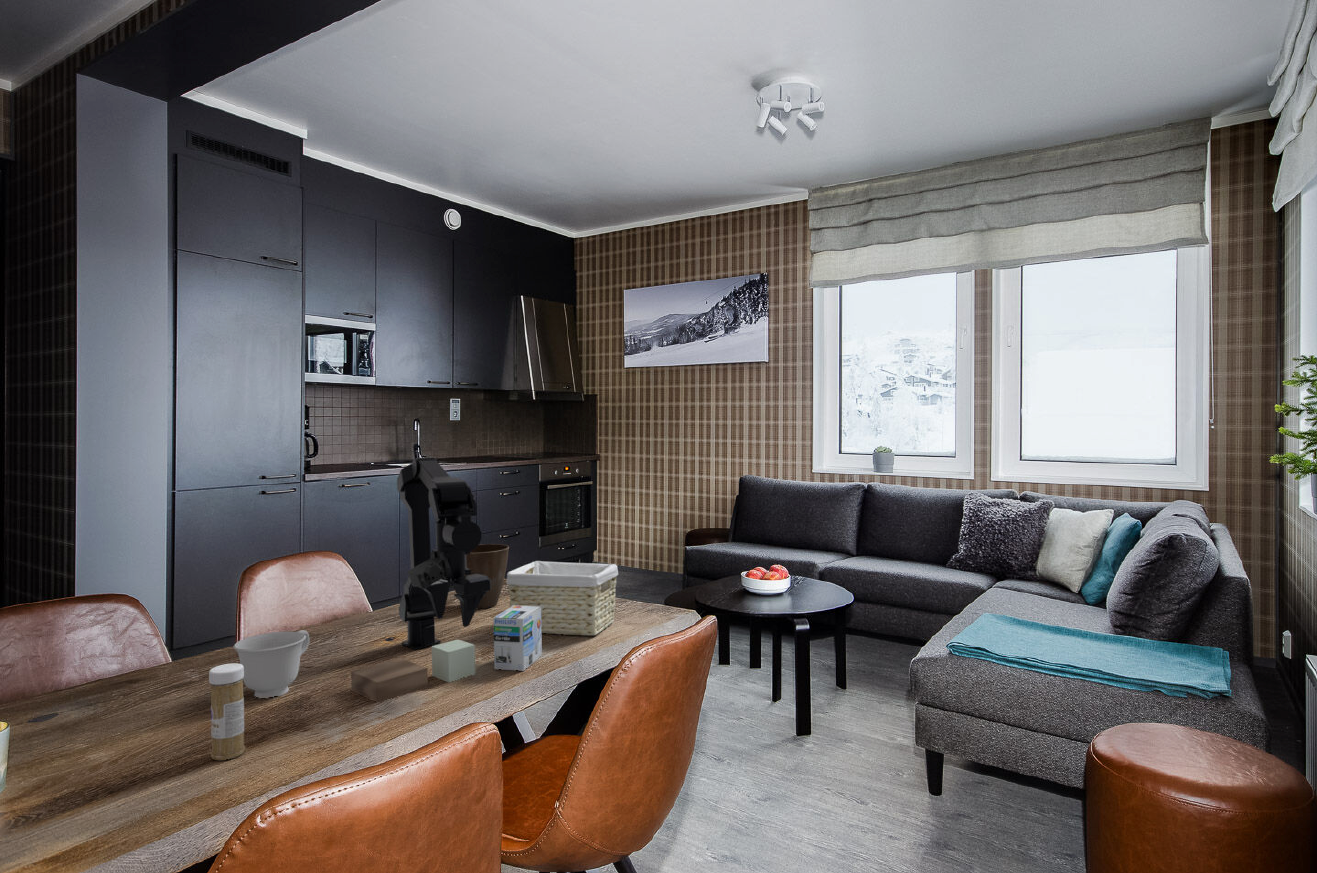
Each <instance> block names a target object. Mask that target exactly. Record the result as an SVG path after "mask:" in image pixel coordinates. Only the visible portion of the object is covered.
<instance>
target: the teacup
mask: <svg viewBox="0 0 1317 873" xmlns="http://www.w3.org/2000/svg"><path fill="white" fill-rule="evenodd" d="M310 642H311V641H310V634H309V632H308V631H307V630H303V629H301V630H298V631H290V630H289V631H276V632H275V631H274V632H267V633H266V632H265V633H260V634H256V635H252V636H249V637H245V638H242V639H241V640H238V641H237V642H236V643H235V644H234V645H232V646H233V649H234V650H235V651H236V652H237V655H238V658H239V664H242V665H243V667H244V677H243V684H244V685H245V686H246V687H247V688H248V689H250V690H252V691H254V697H255V696H256V697H260V698H259V699H261V697H262V698H265V697H266V699H268V698H267V697H273V698H275V697H274V696H278V697H280V696H284V695H285V694H287V693H288V692H289V691H290V690H289V689H290V688H289V685H290V684H292V683H293V682H294V681H295V680H296V679H297V677H298V674H299V670H300V665H301V664H300V663H301V662H300V661H301V656H302V655H303V654H304V653H305V652H306V651H307V650H308V647H309V645H310ZM256 697H255V698H256Z"/></svg>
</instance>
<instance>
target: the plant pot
mask: <svg viewBox="0 0 1317 873" xmlns="http://www.w3.org/2000/svg"><path fill="white" fill-rule="evenodd" d="M509 548H510V546H509V545H507V544H502V543H501V544H500V543H485V544H484V543H483V544H480V543H479V545H478V546H477V547H476V548H475V549H473V550H471V554H466V568H468V569H471V574H469V575H473V574H481V575H485V576H488V577H489V578H490V579H491V590H488V591H487V594H484V596H483V597H482V599H481V601H480V603H479V605H478V607H477V608H484V609H489V607H490V608H493V606H494V607H496V606H497V605H498V602H499V599H500V596H501V594H502V589H503V585H504V582H505V577H506V574H507V573H506V571H507V567H508V566H507V565H508V559H509V550H510V549H509ZM465 576H468V575H465ZM495 605H496V606H495Z"/></svg>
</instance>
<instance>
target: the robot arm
mask: <svg viewBox="0 0 1317 873" xmlns="http://www.w3.org/2000/svg"><path fill="white" fill-rule="evenodd" d="M396 479H397V480H396V488H397V491H398V493H399V497H400V501H402V503H403V505H404V507H405V508H406V509H407V510H408V511H407V512H408V534H409V537H408V539H409V558H410V559H409V561H410V569H409V570H408V571H407V574H408V578H407V580H406V582H405V583H404V585H403V594H402V596H401V599H400V602H399V607H398V614H399V615H398V617H399V618H400V620H401V621H403V623H405V622H406V623H407V625H406V626H407V640H405V641H401V645H403V646H405V647H408V648H410V649H414V650H419V649H422V648H427V647H430V646H431V647H432V646H435V645H439V644H442V640H440V639H438V638H436V626H435V618H436V619H437V620H441V619H443V618H444V615H445V610H446V606H447V601H448V596H449V593H450V592H449V591H450V586H451V585H453V589H454V591H455V593H453V596H454V597H455V598H456V599H457V600H458V601H459V604H460V605H459V606H460V614H461V623H462V627H464V628H467V627H469V626H470V625H471V622H472V619H473V617H474V615H475V613H476V611H477V610H478V609H477V607H478V605H479V603H480V601H481V599H482V597H483V596H484V594H487V591H488V590H491V579H490V578H489V577H488V576H485V575H481V574H473V575H469V574H471V569H468V568H466V554H471V550H473V549H475V548H476V547H477V546H478V545H480V542H481V541H482V530H481V528H480V527H479V525H478V524H477V523H475V522H474V521H472V517H475V516H477V509H478V505H477V501H476V499H475V496H474V494H473V491H472V489H471V487H470V485H468V482H466V481H465V480H463V479H461V478H457V477H452V476H451V475H449V474H448V472H447V471H446V470H445V469H444V468H443V467H442V466H441V464H440V461H439V459H438V458H437V457H434V456H431V457H429V456H427V457H416V458H413V459H412V462H411V463H410V464H408V465H406V466H404V467H403V468H401V470H399V473H398V475H397V478H396ZM430 508H431V511H432V514H433V517H434V519H435V548H436V549H432V546H431V544H432V543H431V522H430V520H431V519H430ZM465 575H468V576H465Z"/></svg>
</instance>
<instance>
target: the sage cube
mask: <svg viewBox="0 0 1317 873" xmlns="http://www.w3.org/2000/svg"><path fill="white" fill-rule="evenodd" d="M431 671H432V672H431V675H432V676H431V677H434V676H435V677H434V678H436V677H437V678H436V679H439V680H441V679H442V681H444V682H445V683H452V681H453V682H456V681H459V680H461V679H460V678H462V679H464V678H463V677H465V678H467V677H466V676H469V675H472V676H474V674H475V675H476V644H473V643H470V642H467V641H464V640H461V639H454V640H451V641H447V642H446V641H445V642H443V643H438V644H434V645H431ZM469 677H470V676H469ZM458 679H459V680H458ZM455 680H456V681H455Z"/></svg>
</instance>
